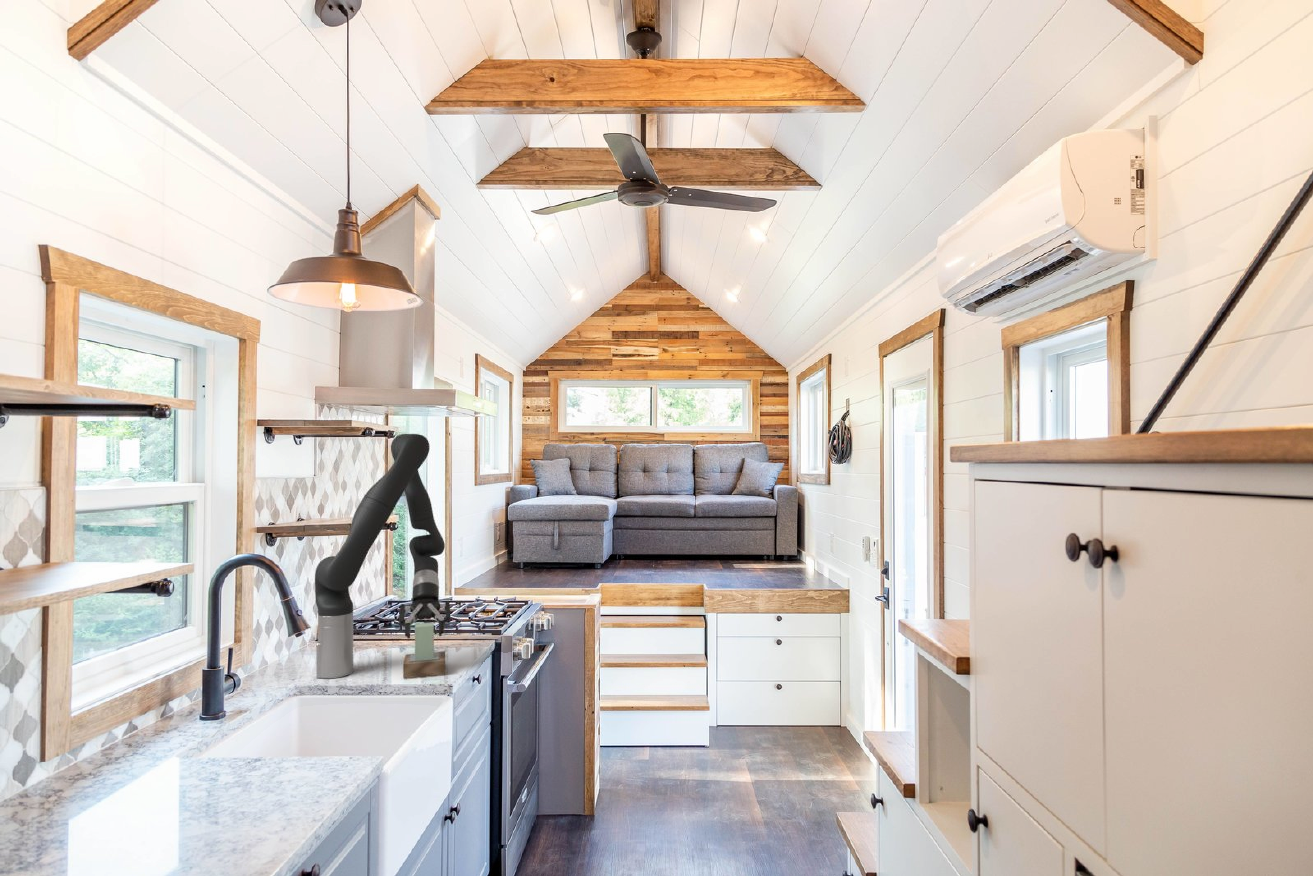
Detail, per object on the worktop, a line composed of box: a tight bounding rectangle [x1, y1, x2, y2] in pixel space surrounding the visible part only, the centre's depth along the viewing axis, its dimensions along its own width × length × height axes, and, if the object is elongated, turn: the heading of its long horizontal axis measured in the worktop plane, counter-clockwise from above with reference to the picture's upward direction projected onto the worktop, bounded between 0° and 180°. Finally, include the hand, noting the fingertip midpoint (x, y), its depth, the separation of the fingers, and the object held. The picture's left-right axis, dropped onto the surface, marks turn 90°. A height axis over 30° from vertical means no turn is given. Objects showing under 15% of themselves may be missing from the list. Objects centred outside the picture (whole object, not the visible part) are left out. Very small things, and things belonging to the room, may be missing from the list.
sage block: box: [414, 621, 435, 660], centre depth 205 cm, size 5×5×9 cm
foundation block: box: [402, 650, 446, 679], centre depth 204 cm, size 11×11×4 cm
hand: (424, 635), depth 203 cm, fingers open, 8 cm apart
